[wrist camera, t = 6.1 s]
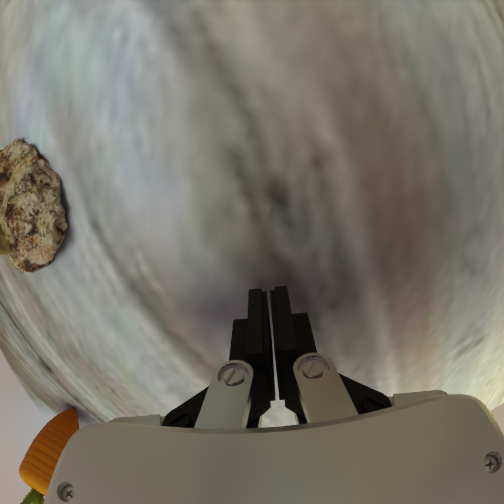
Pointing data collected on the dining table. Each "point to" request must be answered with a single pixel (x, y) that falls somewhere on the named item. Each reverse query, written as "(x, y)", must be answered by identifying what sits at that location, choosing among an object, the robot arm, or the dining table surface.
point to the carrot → (46, 454)
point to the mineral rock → (29, 208)
